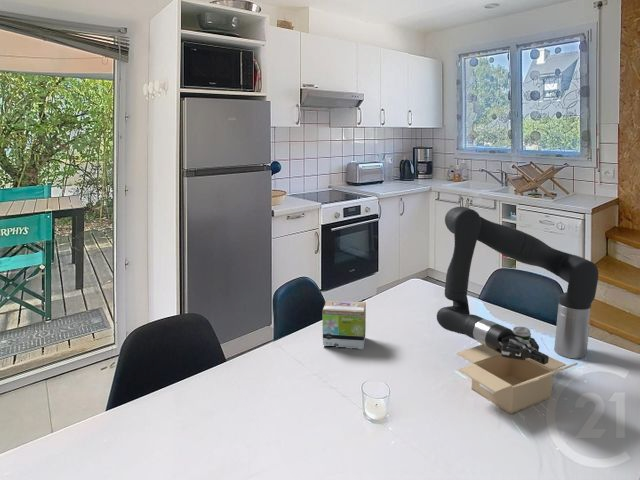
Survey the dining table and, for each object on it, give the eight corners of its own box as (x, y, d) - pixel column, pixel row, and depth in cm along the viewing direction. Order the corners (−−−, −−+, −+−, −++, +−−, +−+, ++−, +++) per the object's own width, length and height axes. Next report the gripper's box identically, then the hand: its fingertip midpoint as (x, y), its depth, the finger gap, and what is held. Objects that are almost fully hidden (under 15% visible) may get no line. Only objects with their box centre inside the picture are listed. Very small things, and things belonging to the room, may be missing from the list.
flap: (552, 370, 120) (577, 362, 113) (553, 372, 120) (577, 364, 113) (514, 385, 114) (538, 377, 107) (515, 386, 113) (539, 379, 107)
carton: (504, 360, 143) (506, 336, 141) (564, 391, 125) (567, 364, 123) (439, 383, 131) (440, 357, 129) (495, 421, 113) (497, 392, 111)
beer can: (522, 370, 137) (524, 335, 134) (506, 363, 141) (509, 329, 139) (531, 365, 140) (534, 330, 137) (516, 358, 144) (518, 325, 142)
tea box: (322, 348, 156) (321, 309, 153) (326, 336, 166) (325, 299, 162) (364, 350, 153) (364, 311, 150) (366, 337, 163) (365, 300, 160)
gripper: (477, 328, 124) (530, 353, 109) (509, 319, 130) (564, 341, 115) (476, 352, 126) (528, 380, 111) (508, 342, 132) (561, 367, 117)
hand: (546, 360), depth 113 cm, fingers closed
